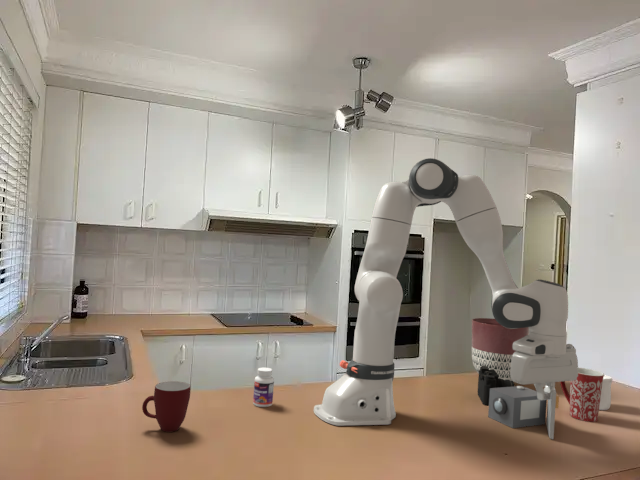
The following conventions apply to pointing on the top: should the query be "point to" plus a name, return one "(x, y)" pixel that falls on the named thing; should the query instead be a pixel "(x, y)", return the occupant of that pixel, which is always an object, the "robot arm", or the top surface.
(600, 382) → the mug
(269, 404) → the pill bottle
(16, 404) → the top surface
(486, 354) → the planter
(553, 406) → the door
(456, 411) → the top surface
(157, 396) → the mug
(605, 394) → the cup
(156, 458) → the top surface
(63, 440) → the top surface
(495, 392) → the housing
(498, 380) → the camera
